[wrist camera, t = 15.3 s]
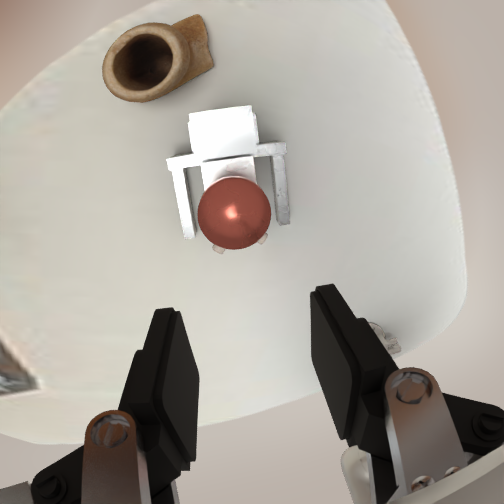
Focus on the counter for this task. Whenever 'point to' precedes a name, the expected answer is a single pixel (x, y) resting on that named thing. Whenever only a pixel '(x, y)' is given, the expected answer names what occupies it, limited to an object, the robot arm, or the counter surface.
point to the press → (222, 145)
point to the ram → (232, 202)
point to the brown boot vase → (156, 59)
